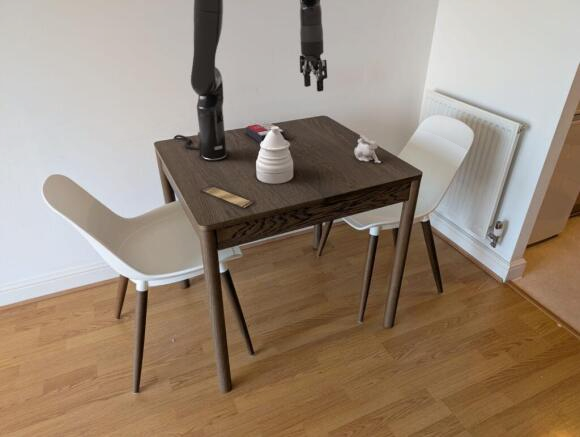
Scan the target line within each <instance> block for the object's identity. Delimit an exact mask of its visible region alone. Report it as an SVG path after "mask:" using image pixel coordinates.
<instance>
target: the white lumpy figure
mask: <svg viewBox="0 0 580 437" xmlns="http://www.w3.org/2000/svg"><path fill="white" fill-rule="evenodd" d="M357 143H358V144H357V145H356V147H355V148H354V157H355V158H356V159H357V160H359V161H364V162H370V161H373V160H374V163H378V164H380V163H382V161H381V160H379V159H378V156H377V155H376V152H375V150H376V149H378V146H379V145H378V143H377V142H376V141H375V140H369V139H368V138H367V137H366V136H365V135H364V134H360V135H359V138H358V139H357Z"/></svg>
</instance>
